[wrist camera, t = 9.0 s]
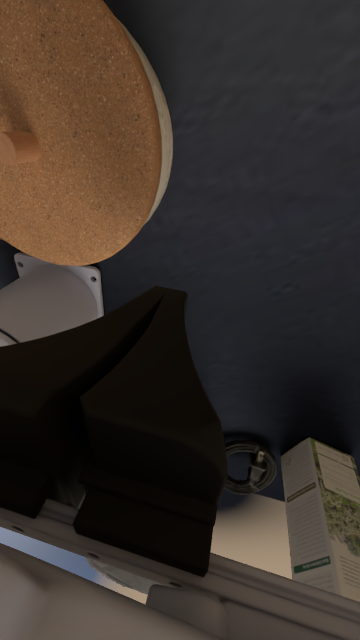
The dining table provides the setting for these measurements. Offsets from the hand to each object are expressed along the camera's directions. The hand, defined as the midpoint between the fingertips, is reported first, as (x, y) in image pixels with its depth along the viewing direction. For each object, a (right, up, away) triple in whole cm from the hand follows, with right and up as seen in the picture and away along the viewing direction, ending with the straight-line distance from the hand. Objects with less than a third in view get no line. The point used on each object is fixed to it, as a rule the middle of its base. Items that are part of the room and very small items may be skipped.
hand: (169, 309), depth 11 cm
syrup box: (+16, -16, +20) cm, 30 cm away
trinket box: (-4, +11, +6) cm, 14 cm away
